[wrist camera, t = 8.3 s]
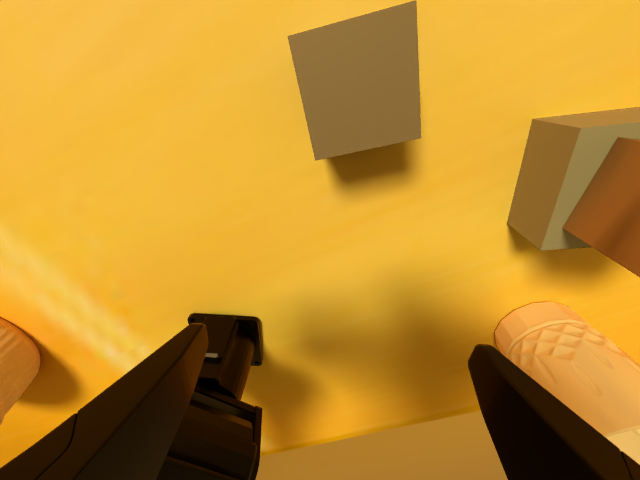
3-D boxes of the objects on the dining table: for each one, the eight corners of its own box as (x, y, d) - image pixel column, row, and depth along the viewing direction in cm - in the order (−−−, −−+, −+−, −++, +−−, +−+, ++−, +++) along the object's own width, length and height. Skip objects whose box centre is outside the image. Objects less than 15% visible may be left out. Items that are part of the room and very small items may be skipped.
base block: (608, 213, 20) (668, 241, 16) (504, 221, 20) (540, 250, 17) (657, 104, 16) (746, 110, 13) (529, 118, 17) (580, 128, 13)
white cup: (580, 346, 26) (704, 479, 17) (491, 363, 28) (563, 492, 19) (584, 284, 22) (744, 412, 14) (482, 309, 24) (566, 436, 15)
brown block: (398, 123, 17) (421, 138, 13) (319, 141, 18) (315, 160, 13) (391, 24, 15) (416, 0, 10) (300, 49, 15) (287, 36, 11)
